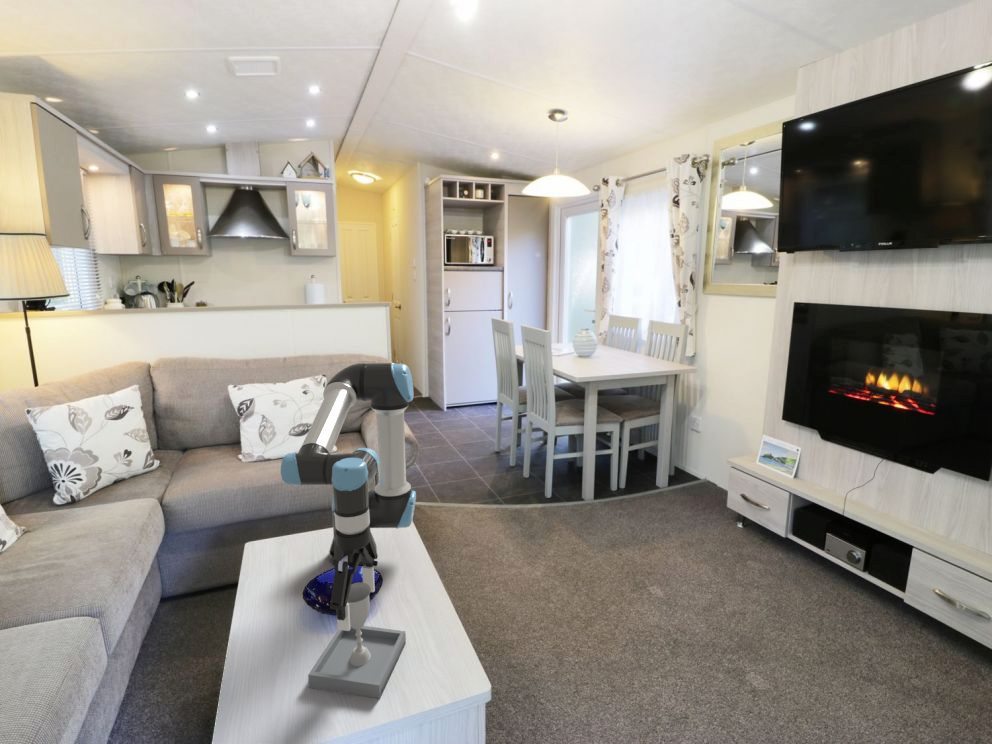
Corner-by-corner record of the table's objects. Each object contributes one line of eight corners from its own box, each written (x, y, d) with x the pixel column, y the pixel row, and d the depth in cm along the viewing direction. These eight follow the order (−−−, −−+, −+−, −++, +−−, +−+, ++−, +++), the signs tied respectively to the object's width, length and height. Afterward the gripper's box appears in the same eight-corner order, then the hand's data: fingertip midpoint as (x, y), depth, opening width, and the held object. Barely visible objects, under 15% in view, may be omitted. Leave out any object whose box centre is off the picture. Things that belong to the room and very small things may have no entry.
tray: (343, 634, 131) (342, 623, 130) (405, 643, 128) (405, 631, 127) (309, 687, 114) (308, 674, 114) (380, 698, 112) (379, 685, 111)
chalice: (366, 672, 117) (362, 604, 113) (339, 667, 118) (334, 600, 114) (379, 648, 124) (376, 584, 120) (354, 644, 125) (350, 580, 121)
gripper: (360, 500, 126) (364, 575, 131) (308, 555, 102) (315, 645, 107) (388, 502, 125) (391, 578, 129) (343, 559, 101) (348, 650, 105)
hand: (357, 609), depth 118 cm, fingers open, 13 cm apart
